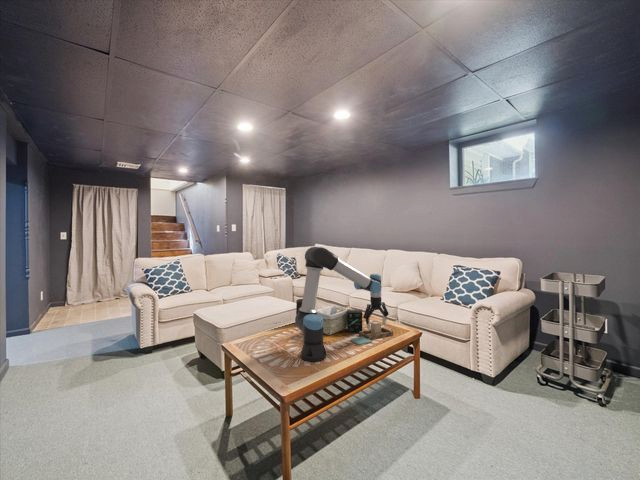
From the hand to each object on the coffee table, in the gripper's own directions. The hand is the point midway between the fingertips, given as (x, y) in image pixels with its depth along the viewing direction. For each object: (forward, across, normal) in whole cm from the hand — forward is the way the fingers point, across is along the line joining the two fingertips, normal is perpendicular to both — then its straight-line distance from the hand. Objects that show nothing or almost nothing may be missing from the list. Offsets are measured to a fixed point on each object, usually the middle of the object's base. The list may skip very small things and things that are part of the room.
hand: (376, 326), depth 203 cm
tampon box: (+6, -8, +15) cm, 18 cm away
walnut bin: (+6, 0, 0) cm, 6 cm away
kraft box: (+5, 0, 0) cm, 5 cm away
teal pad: (+6, -16, -5) cm, 18 cm away
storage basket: (+5, -22, +25) cm, 34 cm away
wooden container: (+6, -32, +51) cm, 60 cm away
